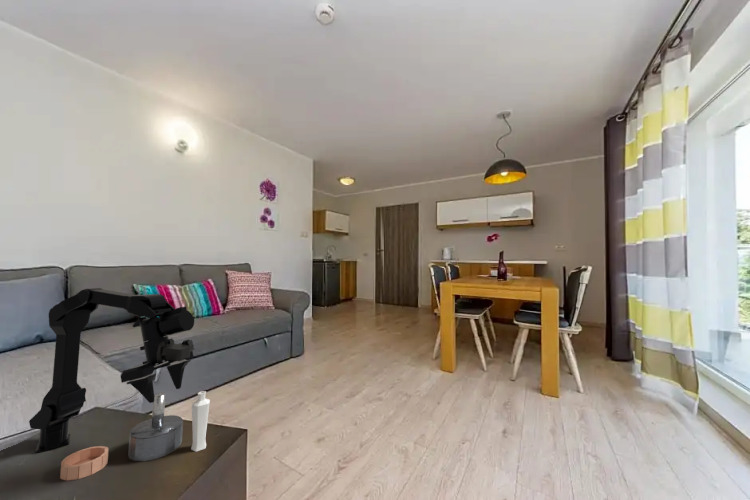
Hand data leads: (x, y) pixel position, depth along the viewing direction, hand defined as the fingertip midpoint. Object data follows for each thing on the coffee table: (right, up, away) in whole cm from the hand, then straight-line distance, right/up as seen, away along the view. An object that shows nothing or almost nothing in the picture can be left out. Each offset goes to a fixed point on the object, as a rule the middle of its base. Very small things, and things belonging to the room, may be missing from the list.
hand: (166, 395), depth 83 cm
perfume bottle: (+8, -16, +2) cm, 18 cm away
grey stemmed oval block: (-4, -16, +2) cm, 16 cm away
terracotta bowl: (-15, -15, -8) cm, 22 cm away
